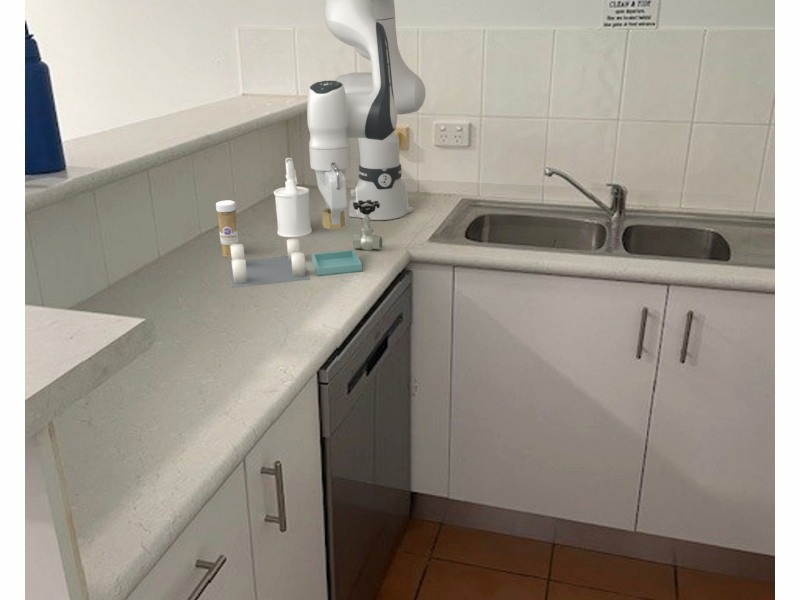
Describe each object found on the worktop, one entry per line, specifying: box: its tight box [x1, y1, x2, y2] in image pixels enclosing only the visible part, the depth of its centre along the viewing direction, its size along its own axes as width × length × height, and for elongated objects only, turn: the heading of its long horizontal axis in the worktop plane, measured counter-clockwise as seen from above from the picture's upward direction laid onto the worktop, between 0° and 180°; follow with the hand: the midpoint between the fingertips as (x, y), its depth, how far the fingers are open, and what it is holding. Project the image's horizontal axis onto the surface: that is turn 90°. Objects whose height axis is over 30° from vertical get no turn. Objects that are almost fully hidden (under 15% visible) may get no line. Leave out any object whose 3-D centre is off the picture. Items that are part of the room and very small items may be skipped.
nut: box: [321, 207, 346, 230], centre depth 163 cm, size 4×5×4 cm
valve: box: [352, 200, 383, 252], centre depth 177 cm, size 7×7×12 cm
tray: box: [311, 249, 363, 277], centre depth 168 cm, size 10×10×2 cm
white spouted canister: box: [273, 157, 313, 238], centre depth 189 cm, size 10×9×20 cm
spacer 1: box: [230, 243, 246, 261], centre depth 168 cm, size 3×3×5 cm
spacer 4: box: [291, 251, 307, 277], centre depth 162 cm, size 3×3×5 cm
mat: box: [229, 255, 311, 289], centre depth 166 cm, size 17×17×1 cm
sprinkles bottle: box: [215, 199, 240, 258], centre depth 175 cm, size 5×5×13 cm
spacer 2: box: [231, 258, 248, 284], centre depth 159 cm, size 3×3×5 cm
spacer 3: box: [286, 237, 301, 262], centre depth 171 cm, size 3×3×5 cm
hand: (333, 220), depth 163 cm, fingers closed on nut, 4 cm apart
